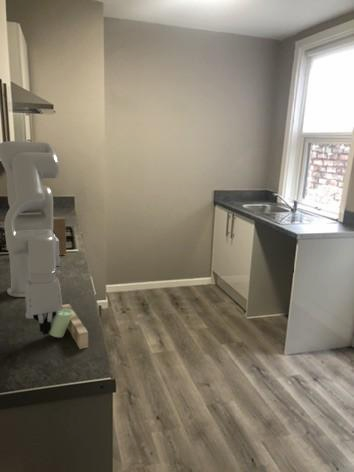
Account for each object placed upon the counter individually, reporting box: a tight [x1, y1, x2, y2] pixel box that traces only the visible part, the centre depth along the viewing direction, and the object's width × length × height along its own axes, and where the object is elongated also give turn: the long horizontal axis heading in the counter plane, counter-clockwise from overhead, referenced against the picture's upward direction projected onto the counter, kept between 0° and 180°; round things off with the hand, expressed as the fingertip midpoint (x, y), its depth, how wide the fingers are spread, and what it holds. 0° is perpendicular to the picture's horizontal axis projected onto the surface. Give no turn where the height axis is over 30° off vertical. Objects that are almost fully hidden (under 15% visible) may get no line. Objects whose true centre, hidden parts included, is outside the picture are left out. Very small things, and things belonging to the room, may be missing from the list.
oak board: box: [62, 303, 89, 350], centre depth 122 cm, size 22×2×5 cm, turn 30°
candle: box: [48, 309, 74, 338], centre depth 119 cm, size 5×5×8 cm
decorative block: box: [53, 216, 67, 256], centre depth 199 cm, size 11×6×20 cm, turn 113°
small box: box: [55, 237, 61, 267], centre depth 184 cm, size 8×6×13 cm
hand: (45, 332), depth 117 cm, fingers closed
